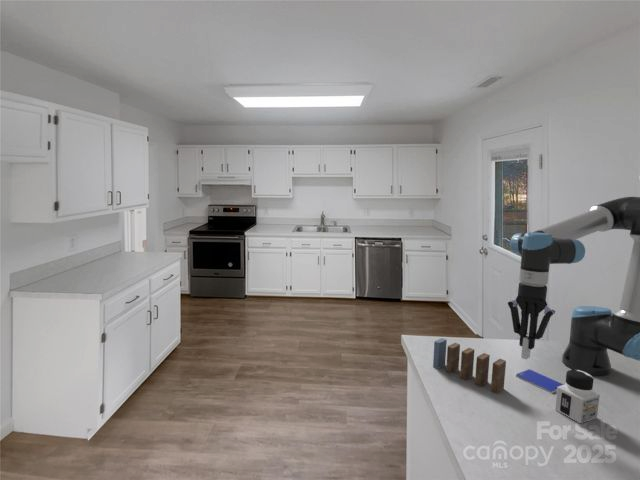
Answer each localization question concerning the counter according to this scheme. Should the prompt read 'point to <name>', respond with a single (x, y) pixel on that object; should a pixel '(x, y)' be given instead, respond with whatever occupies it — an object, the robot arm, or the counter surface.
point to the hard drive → (539, 380)
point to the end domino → (439, 353)
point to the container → (577, 397)
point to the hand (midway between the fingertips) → (525, 357)
